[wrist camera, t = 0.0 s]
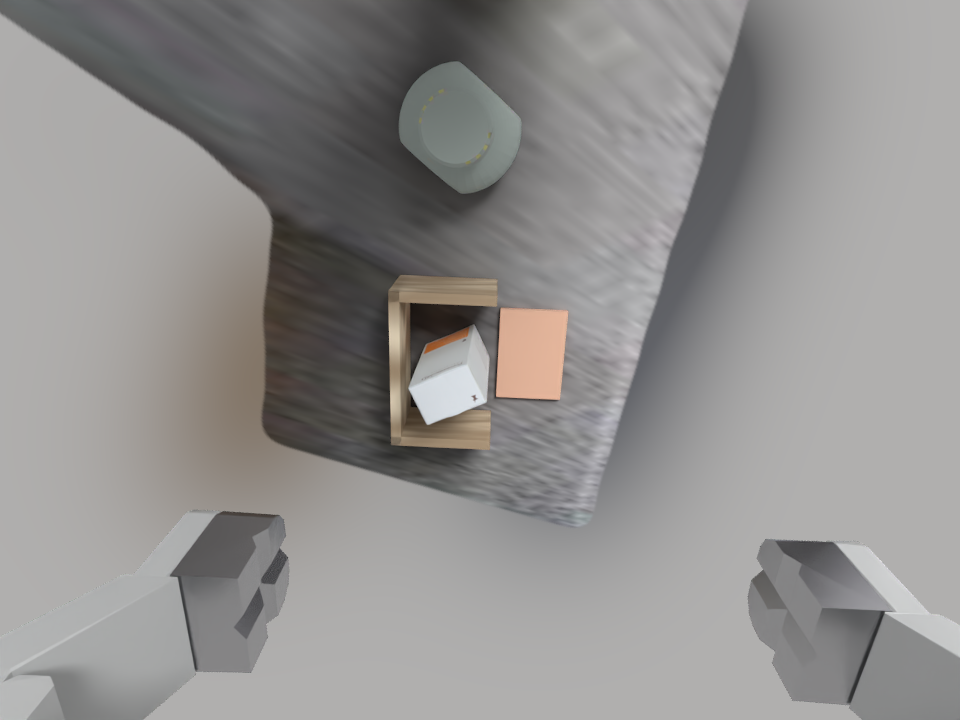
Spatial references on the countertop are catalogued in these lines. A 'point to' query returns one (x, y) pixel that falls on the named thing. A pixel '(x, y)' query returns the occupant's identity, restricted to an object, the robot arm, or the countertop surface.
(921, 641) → the robot arm
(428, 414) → the skincare box
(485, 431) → the open wooden frame
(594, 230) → the countertop surface
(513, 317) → the tile
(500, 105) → the air freshener
